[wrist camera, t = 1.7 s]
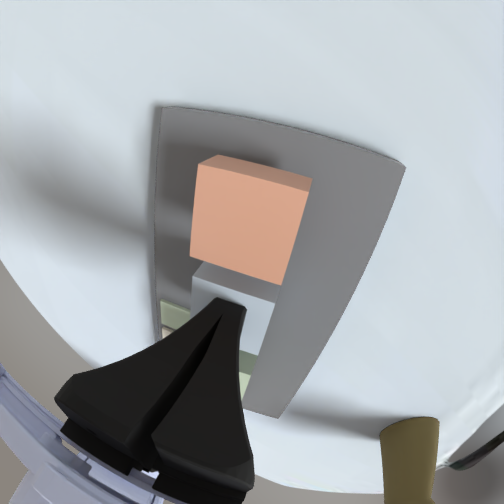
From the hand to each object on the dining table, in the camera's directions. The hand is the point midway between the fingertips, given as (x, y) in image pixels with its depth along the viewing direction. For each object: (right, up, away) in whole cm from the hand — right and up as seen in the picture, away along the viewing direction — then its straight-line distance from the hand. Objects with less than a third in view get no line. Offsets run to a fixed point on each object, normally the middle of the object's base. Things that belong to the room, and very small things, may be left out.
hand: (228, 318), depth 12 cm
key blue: (0, +1, +1) cm, 2 cm away
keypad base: (0, 0, +4) cm, 4 cm away
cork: (+16, -14, +7) cm, 22 cm away
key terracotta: (+1, +4, -1) cm, 5 cm away
